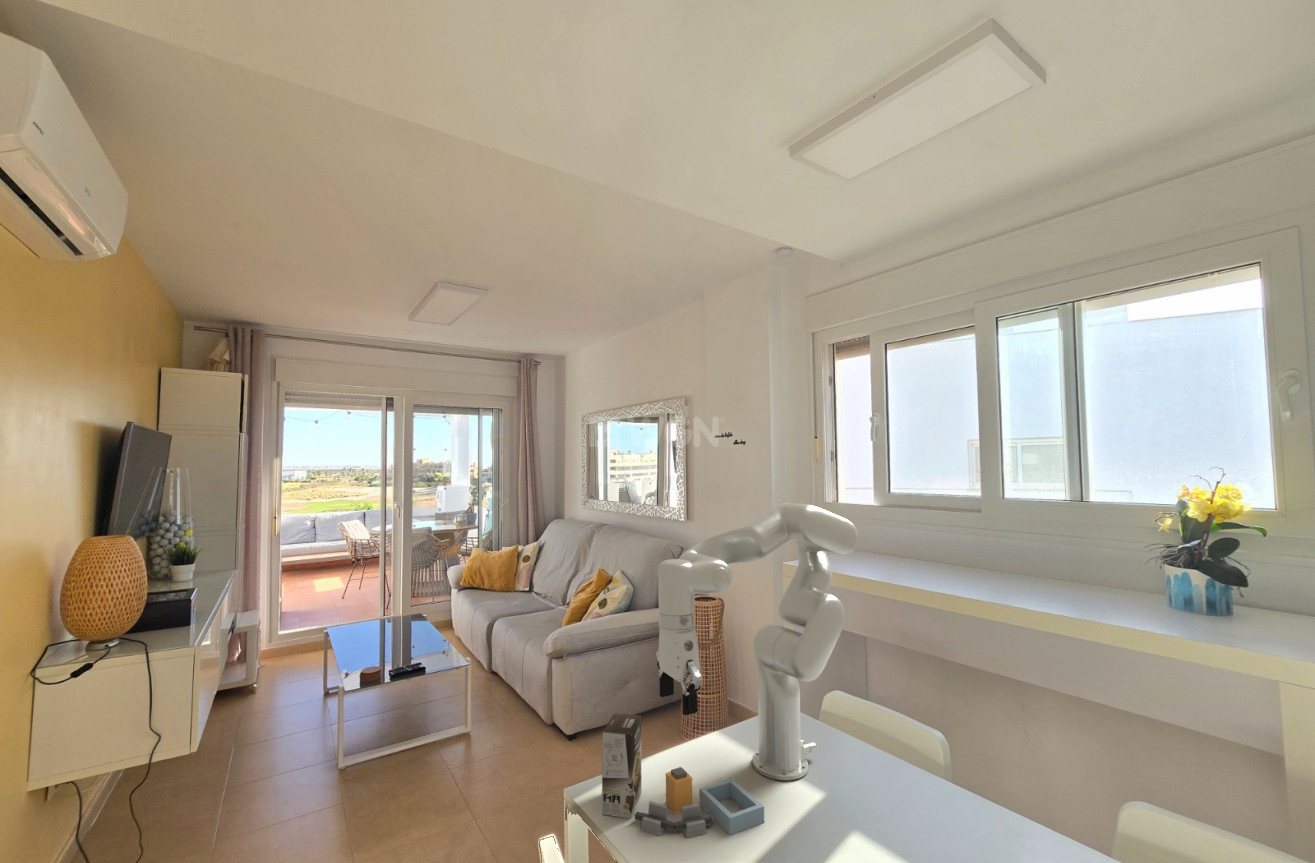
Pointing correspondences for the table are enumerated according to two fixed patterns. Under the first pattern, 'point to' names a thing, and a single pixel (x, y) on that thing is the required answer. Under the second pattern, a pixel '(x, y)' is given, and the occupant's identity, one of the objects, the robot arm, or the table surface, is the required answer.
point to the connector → (678, 789)
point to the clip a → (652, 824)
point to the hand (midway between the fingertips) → (677, 704)
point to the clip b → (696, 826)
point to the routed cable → (673, 825)
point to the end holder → (728, 821)
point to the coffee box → (621, 765)
